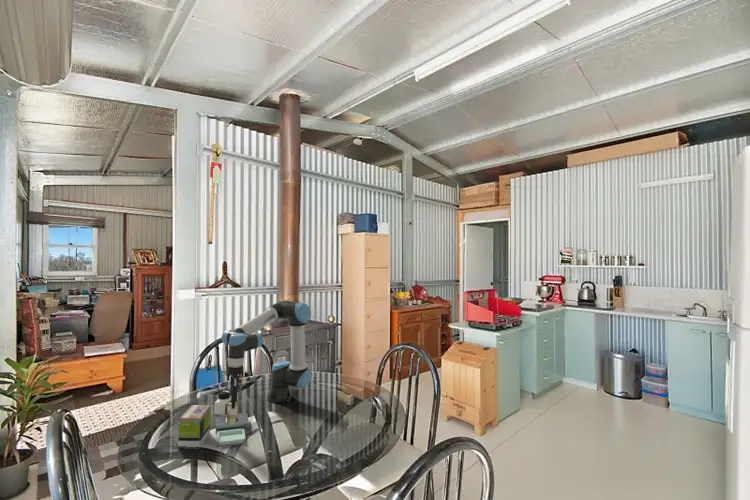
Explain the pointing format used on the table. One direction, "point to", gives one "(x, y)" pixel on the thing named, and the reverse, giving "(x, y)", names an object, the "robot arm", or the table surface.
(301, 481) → the table surface
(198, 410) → the tea box
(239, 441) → the parts tray
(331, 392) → the table surface
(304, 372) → the robot arm
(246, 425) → the grey rectangular slab
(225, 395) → the medicine bottle
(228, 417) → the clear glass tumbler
